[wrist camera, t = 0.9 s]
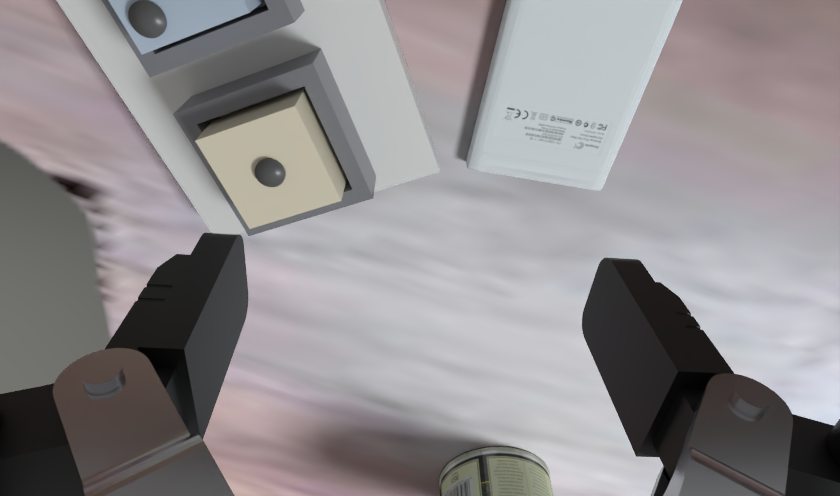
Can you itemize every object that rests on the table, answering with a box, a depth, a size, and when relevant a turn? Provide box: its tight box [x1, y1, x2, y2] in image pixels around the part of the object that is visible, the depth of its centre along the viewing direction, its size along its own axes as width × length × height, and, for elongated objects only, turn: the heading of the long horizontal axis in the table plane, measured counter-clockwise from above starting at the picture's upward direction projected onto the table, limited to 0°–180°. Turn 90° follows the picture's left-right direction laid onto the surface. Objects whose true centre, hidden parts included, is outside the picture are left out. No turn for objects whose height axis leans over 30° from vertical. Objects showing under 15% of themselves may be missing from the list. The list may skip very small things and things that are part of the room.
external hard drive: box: [466, 0, 682, 190], centre depth 28 cm, size 2×8×12 cm
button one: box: [195, 88, 347, 229], centre depth 26 cm, size 5×5×3 cm
